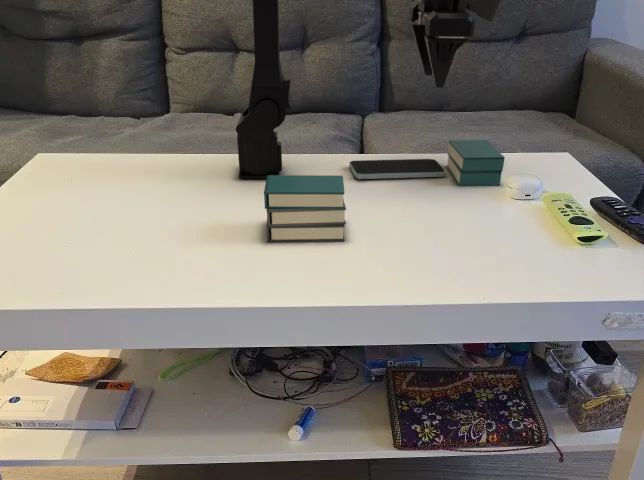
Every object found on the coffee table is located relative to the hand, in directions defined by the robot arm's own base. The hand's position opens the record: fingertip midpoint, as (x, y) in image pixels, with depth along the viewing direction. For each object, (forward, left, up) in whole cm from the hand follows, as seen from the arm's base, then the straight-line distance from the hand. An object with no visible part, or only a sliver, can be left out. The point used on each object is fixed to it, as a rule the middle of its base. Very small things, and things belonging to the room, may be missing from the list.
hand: (433, 80), depth 102 cm
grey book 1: (-20, -24, -12) cm, 34 cm away
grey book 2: (-20, -24, -14) cm, 35 cm away
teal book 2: (+8, -1, -12) cm, 14 cm away
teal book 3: (+8, -1, -14) cm, 16 cm away
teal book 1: (-20, -24, -10) cm, 33 cm away
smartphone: (-5, +1, -14) cm, 15 cm away
